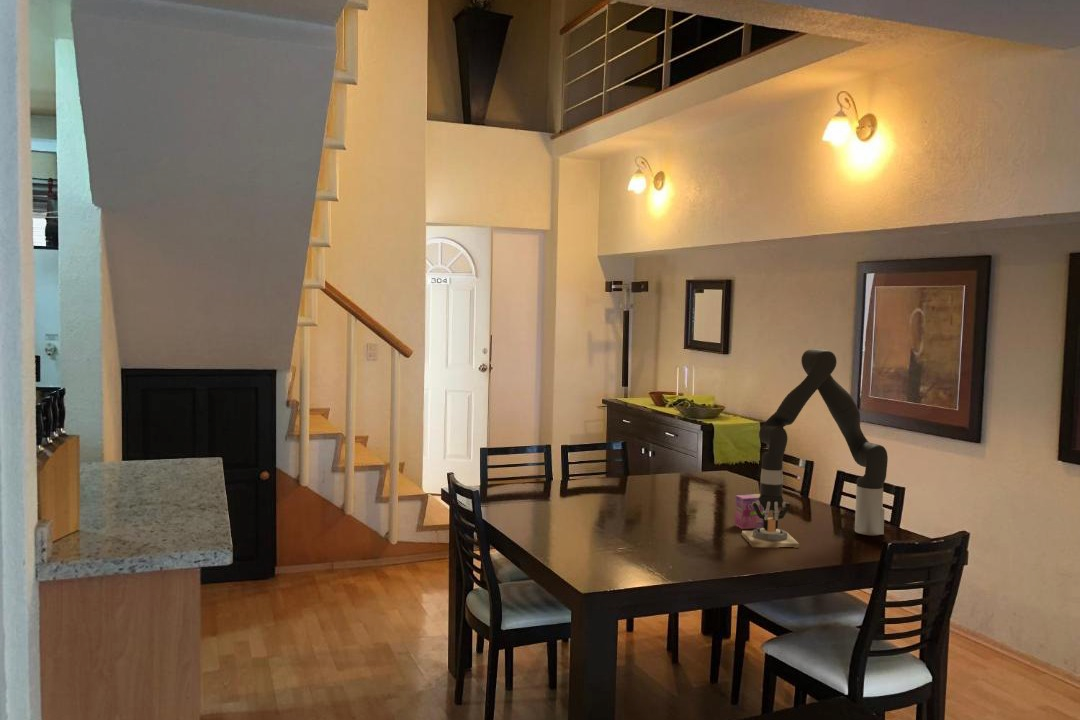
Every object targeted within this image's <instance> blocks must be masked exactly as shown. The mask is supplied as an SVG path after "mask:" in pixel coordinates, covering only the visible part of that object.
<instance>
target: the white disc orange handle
mask: <svg viewBox="0 0 1080 720" xmlns="http://www.w3.org/2000/svg"><path fill="white" fill-rule="evenodd" d="M767 520H768V527H767V531H766V530H765V529H764V528H761V529H760V533H764V534H769V535H779V534H780V530H779V529H780V528H777V529H776V531H775V525H776V520H775V519H773V516H772V517H769V516H768V519H767Z"/></svg>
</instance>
